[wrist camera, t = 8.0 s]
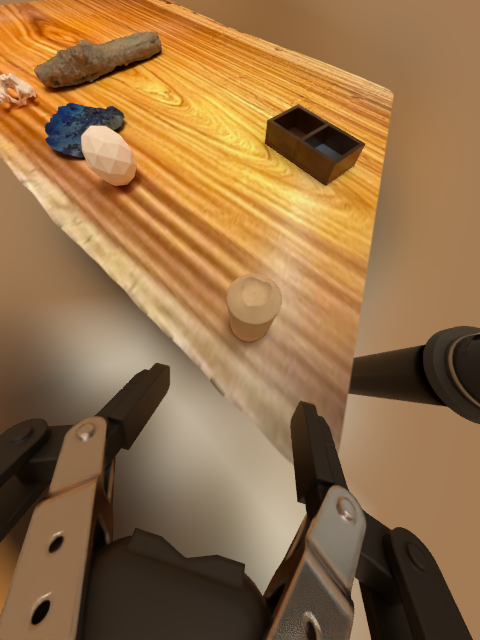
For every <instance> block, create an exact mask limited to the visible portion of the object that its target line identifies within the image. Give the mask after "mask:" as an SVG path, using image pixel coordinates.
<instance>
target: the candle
mask: <svg viewBox="0 0 480 640" xmlns="http://www.w3.org/2000/svg"><path fill="white" fill-rule="evenodd" d="M281 305H282V295H281V291H280V289H279V287H278V286H277V284H276V283H275V282H274V281H273V280H271V279H270V278H268V277H266V276H264V275H260V274H247V275H243V276H241V277H239V278H237V279H236V280H235V281H234V282H233V283H232V284H231V285H230V287H229V289H228V292H227V306H228V313H229V320H230V326H231V329H232V331H233V333H234V334H235V335H236V336H237V337H238V338H239V339H241V340H243V341H249V342H250V341H256V340H258V339H260V338H262V337H263V336H264V335H265V333H266V332H267V330H268V329H269V327H270V325H271V324H272V322H273V320H274V319H275V317H276V315H277V314H278V312H279V310H280V308H281Z"/></svg>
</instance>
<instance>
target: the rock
mask: <svg viewBox="0 0 480 640" xmlns="http://www.w3.org/2000/svg"><path fill="white" fill-rule="evenodd" d="M123 119H124V115H123V113H122V112H121V111H120V110H118V109H117V108H115V107H113V106H110V107H107V109H103V108H93V107H86V106H83V105H78V104H73V103H69V104H67V105H66V106H62V107H58V111H57V113H56V114H54V115H53V118H50V122H49V123H47V124H46V126H45V131H46V133H47V134H48V135H49V137H47V138H46V139H45V140H46V142H47V143H48V145H50V147H51V148H53V149H54V150H56V151H59V152H62V153H64V154H69V155H72V156H77V157H79V158H81V157H84V154H83V152H82V143H81V136H82V135H83V133H84V132H85V131H86V130H87V129H88V128H89V127H90V126H106V127H108V128H110V129H111V130H113V131H114V130H116V128H119V126H120V127H121V126H122V121H123Z"/></svg>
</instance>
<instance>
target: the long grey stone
mask: <svg viewBox="0 0 480 640" xmlns="http://www.w3.org/2000/svg"><path fill="white" fill-rule="evenodd" d="M161 50H162V47H161V41H160V40H159V36H158V33H157V32H156V33H154V32H145V33H142V32H138V33H136V34H132V35H130V36H127V37H123V38H118V39H115V40H112V41H109V42H106V43H104V44H100V45H98V44H92V43H90V42H89V41H85V40H84V41H80V42H79V44H77V46H74V47H70V48H67V50H62V49H61V50H60V51H59V52H57V56H55V57H52V58H51V59H49V60H48V61H47V62H45V63H43V64H41V65H37V67H35V70H34V71H35V73H36V75H37V77H38V79H39V80H40V81H41V82H42V83H43V84H44V85H47V86H52V87H54V88H57V87H62V86H70V85H77V84H80V83H81V84H82V83H84V82H85V81H88V82H93V80H95V79H97V78H98V77H99V76H101V75H103V74H107V73H108V72H112V70H114V68H115V67H116V66H122V65H123V64H124V65H125V66H127V65H128V64H130V63H131V62H134V61H138V60H140V61H141V60H143V59H146V58H148V59H149V58H151V57H152V56H153V55H154V54H157V53H158V52H160V51H161Z"/></svg>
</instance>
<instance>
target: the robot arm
mask: <svg viewBox="0 0 480 640" xmlns="http://www.w3.org/2000/svg"><path fill="white" fill-rule="evenodd" d="M445 367H446V371H447V374H448V376H449V378H450V380H451V382H452V384H453V385H454V387H455V388H456V390H457V391H458V392H459V393H460V394H461V395H462V396H463V397H464V398H465V399H466V400H467V401H468V402H469V403H471V404H472V405H473V406H475V407H476V408H478V409H480V333H477V334H470V335H465V336H461V337H458V338H456V339H454V340H453V341H452V342H451V343H450V344H449V345H448V347H447V349H446V352H445ZM169 386H170V367H169V366H167V365H164V364H160V363H156V364H154V365H153V367H152V368H151V369H150V370H146V369H145V370H143V371H141V372H139V373H137V374H136V375H135V376H134V377H133V378H132V379H131V380H130V381H129V383H127V384H126V385H125V386H124V387H123V389H121V390H120V391H119V392H118V393H117V394H116V395H115V396H114V398H112V399H111V400H110V401H109V402H108V403H107V404H106V405H105V406H104V408H102V409H101V410H100V412H99V413H97V414H96V415H95V416H92V417H88V418H85V419H83V420H81V421H79V422H78V423H76V424H75V425H65V426H48V424H47V422H46V421H45V420H43V419H30V420H26V421H23V422H21V423H18V424H17V425H15V426H13V427H11V428H9V429H8V430H7V431H5V432H4V433H3V434H1V435H0V542H1V541H2V540H3V539H4V537H5V536H6V535H7V534H8V533H9V531H10V530H11V529H12V528H13V527H14V526H15V524H16V523H17V522H18V521H19V520H20V518H21V517H22V516H23V515H24V514H25V512H26V511H27V510H28V509H29V508H30V506H31V505H32V504H33V503H34V502H35V501H36V499H37V498H38V497H39V496H40V495H41V493H42V492H43V491H44V490H45V489H46V487H47V486H48V485H49V484H50V483H51V485H50V489H49V491H48V494H47V495H46V497H45V498H43V499H42V500H40V501H39V503H38V504H37V506H36V508H35V510H34V513H33V516H32V519H31V522H30V525H29V528H28V531H27V534H26V538H25V540H24V544H23V547H22V550H21V553H20V556H19V559H18V562H17V565H16V569H15V572H14V575H13V578H12V581H11V584H10V587H9V590H8V593H7V597H6V599H5V602H4V606H3V609H2V612H1V615H0V640H349V639H350V634H351V630H352V625H353V619H354V603H353V601H352V599H351V589H352V585H353V580H354V577H355V578H357V579H358V580H359V585H360V589H361V594H362V599H363V603H364V608H365V612H366V617H367V621H368V626H369V631H370V635H371V640H473V639H472V637H471V635H470V633H469V631H468V629H467V626H466V625H465V622H464V620H463V618H462V616H461V614H460V612H459V609H458V607H457V605H456V603H455V601H454V599H453V597H452V595H451V592H450V590H449V588H448V586H447V584H446V582H445V580H444V577H443V575H442V573H441V571H440V569H439V567H438V565H437V563H436V561H435V559H434V558H433V556H432V554H431V553H430V552H429V550H428V549H427V547H426V546H425V545H424V544H423V543H422V542H421V541H420V539H418V538H417V537H416V536H415V535H414V534H413V533H411V532H410V531H408V530H407V529H405V528H401V527H397V528H395V529H393V530H390V529H389V528H388V527H386V526H385V525H383V524H382V523H380V522H379V521H377V520H376V519H374V518H373V517H372V516H370V515H369V514H367V513H366V512H365V511H364V510H363V509H362V508H361V506H360V504H359V502H358V501H357V500H356V498H355V497H354V496H353V495H352V494H351V493H350V492H349V490H348V487H347V485H346V481H345V478H344V475H343V471H342V468H341V464H340V461H339V458H338V454H337V451H336V449H335V444H334V441H333V440H332V434H331V431H330V428H329V426H328V424H327V423H326V421H325V420H324V418H323V417H321V416H318V414H317V411H316V407H315V405H314V404H311V403H307V402H303V401H300V402H299V404H298V406H297V408H296V410H295V412H294V414H293V416H292V418H291V425H290V428H291V439H292V449H293V459H294V470H295V480H296V491H297V501H298V502H300V503H303V504H306V511H307V514H306V515H305V517H304V519H303V521H302V523H301V525H300V527H299V529H298V531H297V534H296V535H295V537H294V540H293V541H292V544H291V546H290V547H289V549H288V551H287V553H286V555H285V558H284V560H283V561H282V563H281V564H280V566H279V567H278V569H277V570H276V572H275V574H274V576H273V577H272V579H271V581H270V583H269V585H268V587H267V589H266V591H265V593H264V595H263V596H262V594H261V593H260V591H259V590H258V588H257V586H256V585H255V583H254V582H253V581H252V580H251V579H250V578H249V577H248V576H247V575H246V574H245V573H244V569H245V564H243V563H240V562H237V561H234V560H231V559H228V558H225V557H222V556H219V555H212V556H202V557H194V558H186V557H184V556H182V555H181V554H180V553H179V552H178V551H177V550H176V549H175V548H174V547H173V546H172V545H170V544H169V543H168V542H167V541H166V540H165V539H164V538H163V537H161V536H159V535H156V534H153V533H149V532H146V531H143V530H140V529H137V528H135V531H134V533H133V535H132V536H127V537H124V538H120V539H118V540H115V541H113V542H112V539H113V505H112V504H113V487H114V486H113V485H114V472H115V456H116V455H117V453H118V452H119V450H120V449H121V448H123V449H127V450H129V449H130V447H131V446H132V444H133V442H134V441H135V440H136V438H137V437H138V435H139V433H140V432H141V431H142V429H143V428H144V426H145V425H146V423H147V422H148V420H149V419H150V417H151V416H152V414H153V413H154V411H155V410H156V408H157V407H158V405H159V404H160V402H161V401H162V399H163V398H164V396H165V395H166V393H167V391H168V389H169Z"/></svg>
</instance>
